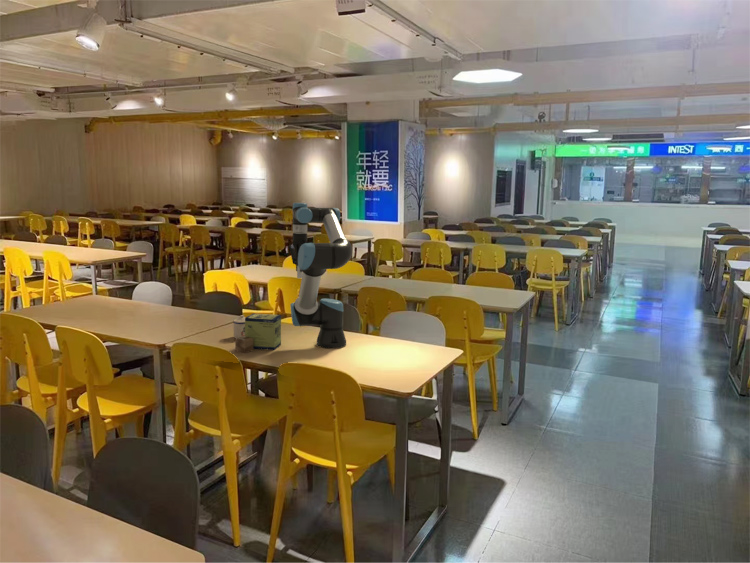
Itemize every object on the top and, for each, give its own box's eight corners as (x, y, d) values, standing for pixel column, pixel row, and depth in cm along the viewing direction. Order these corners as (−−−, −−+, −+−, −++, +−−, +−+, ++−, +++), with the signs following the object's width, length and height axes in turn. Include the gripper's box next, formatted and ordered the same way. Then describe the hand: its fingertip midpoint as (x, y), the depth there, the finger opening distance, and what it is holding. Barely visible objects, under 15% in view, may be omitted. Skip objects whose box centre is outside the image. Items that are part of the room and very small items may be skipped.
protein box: (275, 350, 278) (274, 319, 275) (244, 348, 280) (244, 317, 277) (281, 344, 288) (281, 314, 285) (252, 342, 290) (252, 313, 288)
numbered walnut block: (253, 350, 277) (253, 337, 276) (244, 353, 272) (244, 340, 271) (244, 348, 280) (243, 335, 279) (235, 351, 275) (235, 338, 274)
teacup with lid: (243, 340, 294) (242, 318, 293) (229, 337, 299) (229, 316, 297) (258, 335, 305) (258, 314, 303) (245, 332, 309) (244, 312, 307)
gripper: (285, 232, 294) (285, 277, 298) (306, 233, 288) (306, 279, 292) (293, 231, 301) (293, 275, 304) (314, 233, 295) (314, 278, 299)
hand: (299, 277), depth 298 cm, fingers closed
